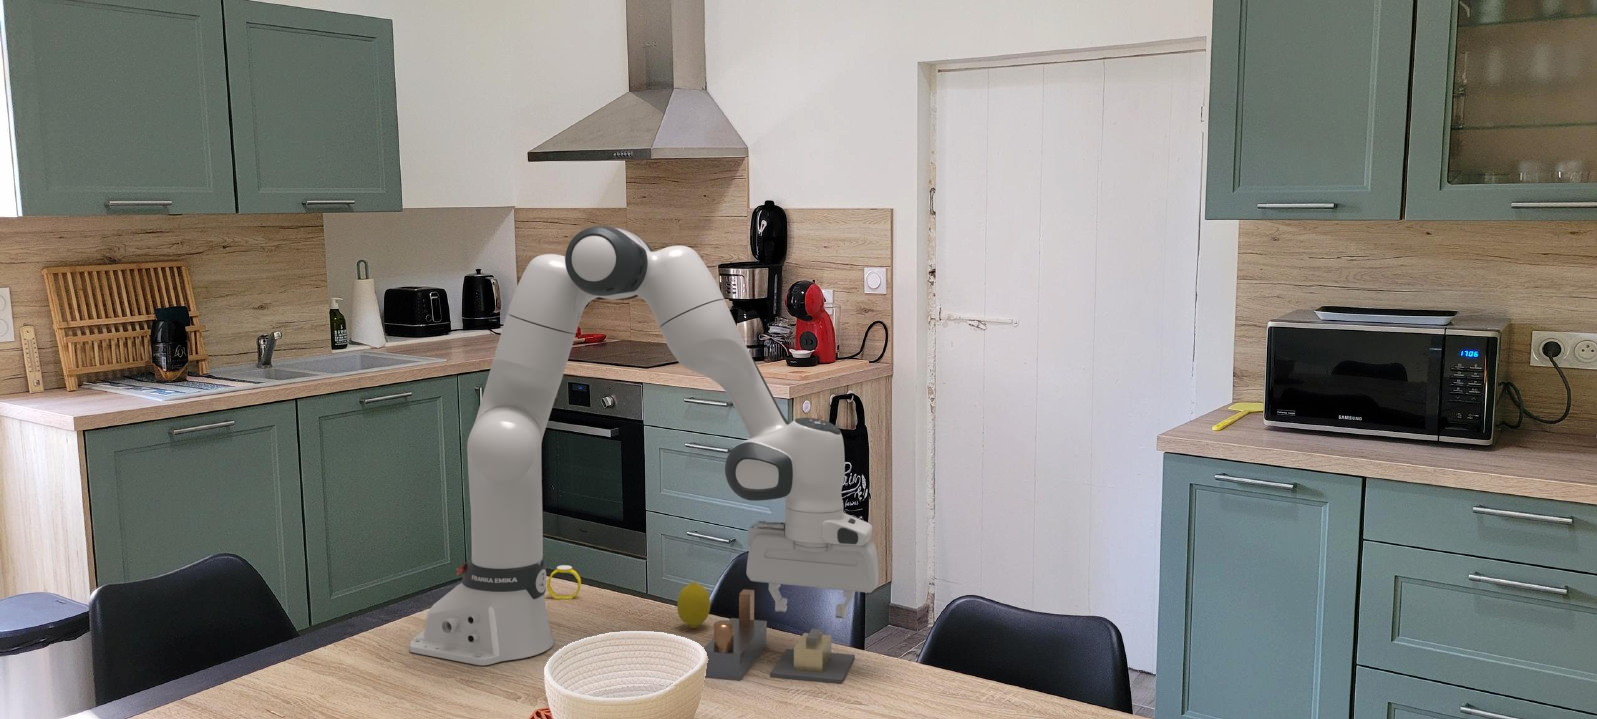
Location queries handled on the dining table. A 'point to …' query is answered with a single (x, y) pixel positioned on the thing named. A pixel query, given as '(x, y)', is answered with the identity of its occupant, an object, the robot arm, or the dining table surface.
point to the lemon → (693, 604)
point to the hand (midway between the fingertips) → (810, 613)
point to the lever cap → (812, 652)
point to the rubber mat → (831, 673)
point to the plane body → (736, 642)
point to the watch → (564, 570)
